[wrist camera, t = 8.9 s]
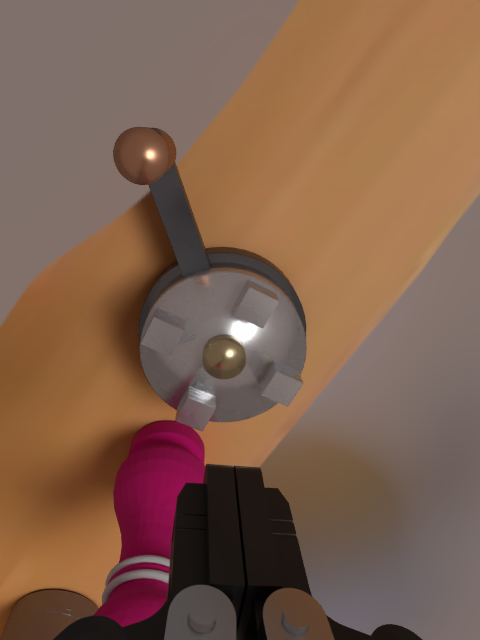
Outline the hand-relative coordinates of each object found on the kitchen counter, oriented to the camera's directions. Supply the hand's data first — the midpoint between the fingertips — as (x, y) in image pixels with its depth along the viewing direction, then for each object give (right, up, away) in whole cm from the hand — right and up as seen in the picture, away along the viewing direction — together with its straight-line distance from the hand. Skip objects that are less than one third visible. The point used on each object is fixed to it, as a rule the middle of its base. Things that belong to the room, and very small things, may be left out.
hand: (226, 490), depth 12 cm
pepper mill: (-6, -6, +26) cm, 27 cm away
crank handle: (-2, +7, +18) cm, 19 cm away
